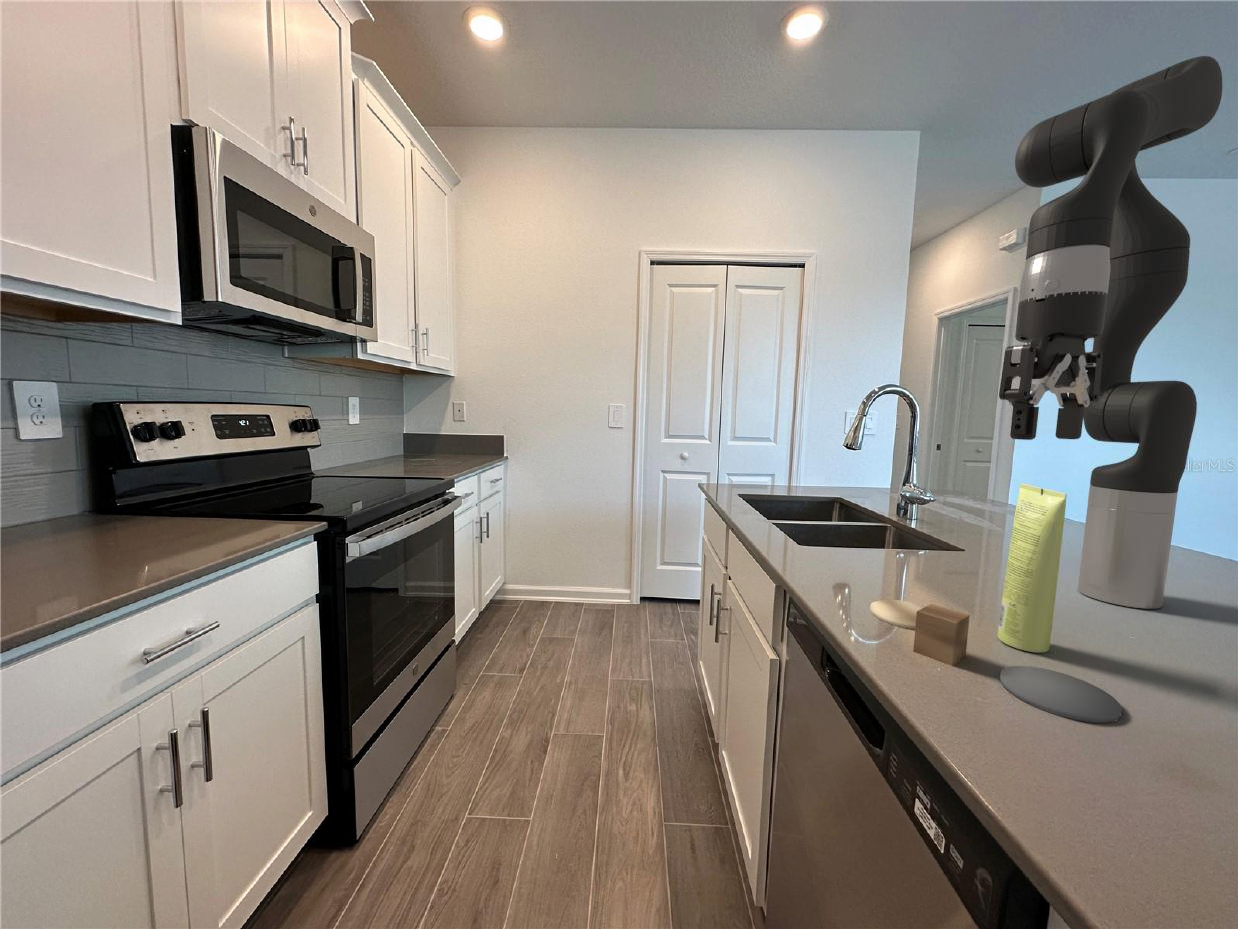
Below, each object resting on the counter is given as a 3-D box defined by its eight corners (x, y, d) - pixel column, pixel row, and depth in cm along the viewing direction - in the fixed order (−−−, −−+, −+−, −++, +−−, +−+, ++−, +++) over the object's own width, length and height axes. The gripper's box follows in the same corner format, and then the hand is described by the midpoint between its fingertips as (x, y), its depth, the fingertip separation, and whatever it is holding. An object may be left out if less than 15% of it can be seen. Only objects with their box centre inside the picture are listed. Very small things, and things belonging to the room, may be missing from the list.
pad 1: (901, 600, 73) (901, 596, 73) (961, 624, 65) (961, 620, 65) (855, 608, 70) (856, 604, 70) (913, 635, 62) (913, 630, 62)
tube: (1062, 649, 58) (1081, 489, 56) (1047, 660, 56) (1066, 492, 54) (1005, 631, 63) (1020, 482, 61) (989, 641, 60) (1004, 485, 58)
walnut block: (927, 642, 60) (931, 603, 59) (965, 656, 57) (969, 615, 56) (913, 651, 57) (916, 611, 57) (951, 666, 54) (955, 623, 54)
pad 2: (1033, 665, 55) (1033, 660, 55) (1141, 711, 46) (1142, 705, 46) (979, 679, 51) (980, 674, 51) (1086, 732, 43) (1087, 725, 43)
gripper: (1059, 308, 61) (1045, 437, 63) (984, 297, 56) (971, 437, 58) (1140, 295, 54) (1122, 441, 56) (1063, 281, 49) (1045, 441, 51)
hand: (1045, 439), depth 57 cm, fingers open, 8 cm apart
